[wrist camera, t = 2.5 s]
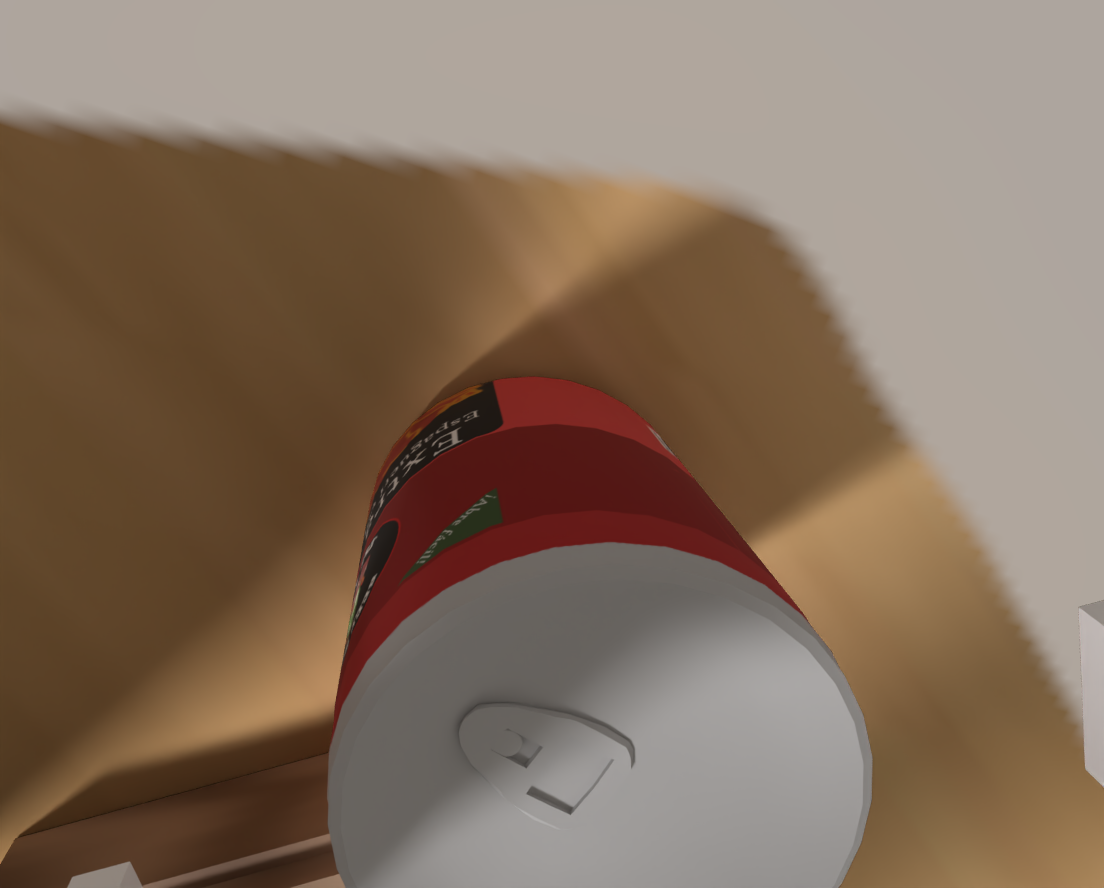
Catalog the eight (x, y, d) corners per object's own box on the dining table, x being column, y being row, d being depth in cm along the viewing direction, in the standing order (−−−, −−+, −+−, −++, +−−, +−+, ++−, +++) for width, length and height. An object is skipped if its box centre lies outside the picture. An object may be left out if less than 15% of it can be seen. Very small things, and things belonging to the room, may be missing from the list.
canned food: (422, 323, 22) (417, 490, 11) (731, 424, 23) (974, 650, 13) (330, 610, 24) (253, 980, 13) (622, 684, 25) (757, 1062, 15)
